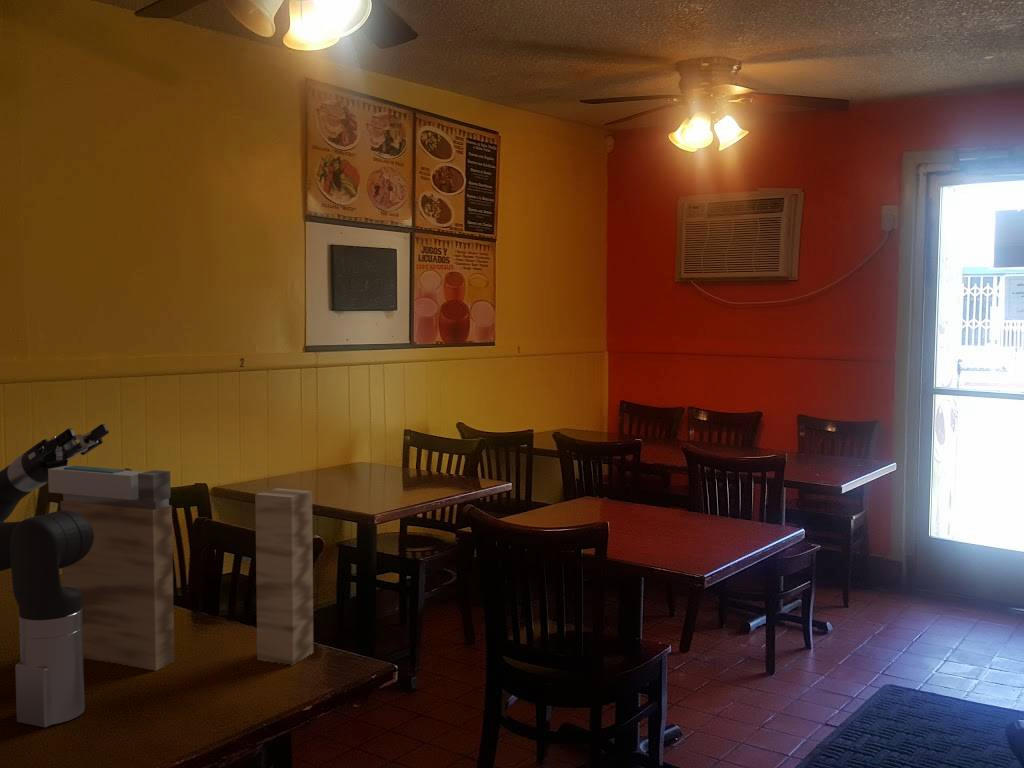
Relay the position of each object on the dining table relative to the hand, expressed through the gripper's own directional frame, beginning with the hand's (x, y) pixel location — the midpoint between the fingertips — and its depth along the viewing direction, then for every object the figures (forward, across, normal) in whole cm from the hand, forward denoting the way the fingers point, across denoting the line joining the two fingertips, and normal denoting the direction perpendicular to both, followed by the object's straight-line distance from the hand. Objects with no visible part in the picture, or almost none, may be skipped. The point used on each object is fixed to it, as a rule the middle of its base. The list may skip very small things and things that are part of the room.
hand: (89, 430), depth 186 cm
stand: (+14, +6, +57) cm, 59 cm away
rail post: (-12, -6, +43) cm, 45 cm away
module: (+1, -6, +14) cm, 15 cm away
